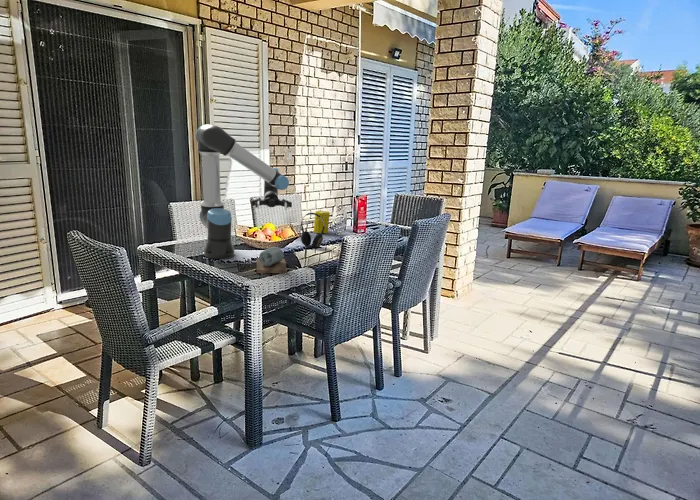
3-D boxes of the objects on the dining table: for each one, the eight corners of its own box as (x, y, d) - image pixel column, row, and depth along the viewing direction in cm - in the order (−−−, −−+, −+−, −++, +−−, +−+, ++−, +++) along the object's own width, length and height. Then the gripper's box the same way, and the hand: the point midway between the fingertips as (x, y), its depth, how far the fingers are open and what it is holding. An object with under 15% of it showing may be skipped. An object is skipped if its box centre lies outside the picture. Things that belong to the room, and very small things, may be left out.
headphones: (303, 243, 275) (304, 209, 270) (326, 247, 271) (328, 213, 265) (296, 246, 268) (298, 212, 262) (320, 250, 263) (322, 215, 257)
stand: (256, 273, 217) (256, 269, 216) (256, 262, 234) (256, 258, 233) (286, 274, 220) (286, 270, 219) (284, 262, 237) (284, 258, 236)
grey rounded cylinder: (271, 263, 216) (267, 243, 218) (256, 268, 221) (253, 248, 223) (290, 264, 228) (286, 244, 229) (275, 269, 232) (272, 250, 234)
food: (311, 235, 301) (318, 233, 310) (327, 234, 296) (334, 231, 305) (308, 211, 299) (315, 210, 308) (324, 210, 294) (331, 208, 303)
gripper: (294, 207, 254) (297, 215, 234) (247, 205, 249) (246, 213, 229) (294, 193, 252) (297, 200, 232) (247, 191, 247) (246, 198, 227)
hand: (272, 206), depth 230 cm, fingers open, 13 cm apart
